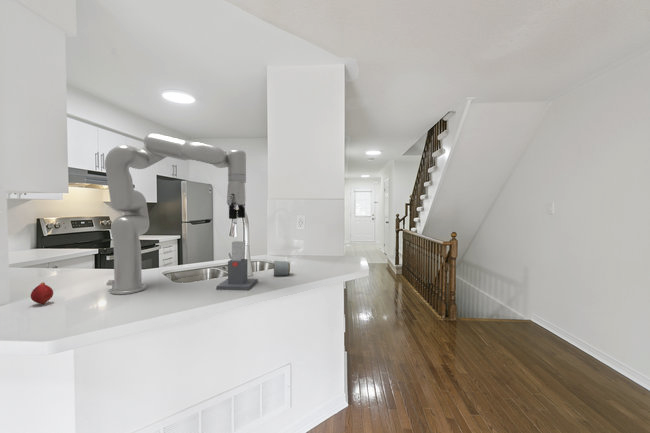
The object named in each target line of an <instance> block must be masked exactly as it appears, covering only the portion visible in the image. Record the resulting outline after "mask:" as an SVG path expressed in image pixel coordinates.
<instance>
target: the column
mask: <svg viewBox="0 0 650 433" xmlns="http://www.w3.org/2000/svg"><path fill="white" fill-rule="evenodd" d="M244 245H245V241H243V240H234V241H232V242H231V260H232V261H243V260H244V259H245V246H244Z"/></svg>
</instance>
